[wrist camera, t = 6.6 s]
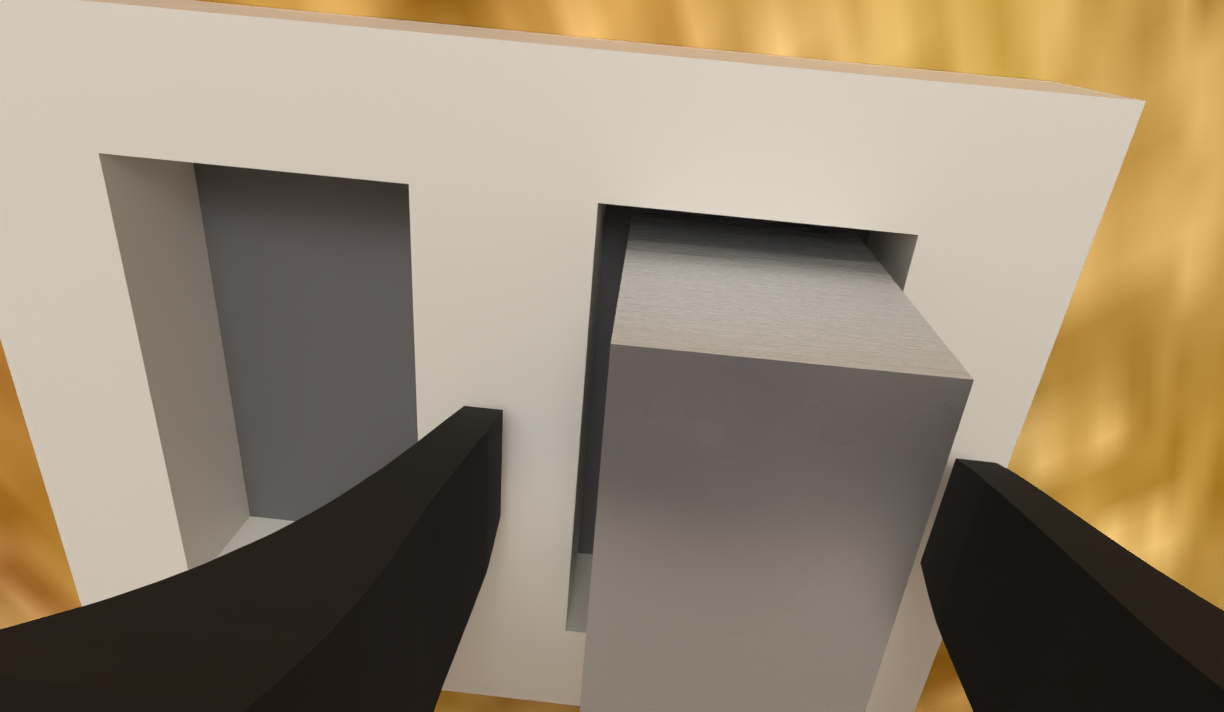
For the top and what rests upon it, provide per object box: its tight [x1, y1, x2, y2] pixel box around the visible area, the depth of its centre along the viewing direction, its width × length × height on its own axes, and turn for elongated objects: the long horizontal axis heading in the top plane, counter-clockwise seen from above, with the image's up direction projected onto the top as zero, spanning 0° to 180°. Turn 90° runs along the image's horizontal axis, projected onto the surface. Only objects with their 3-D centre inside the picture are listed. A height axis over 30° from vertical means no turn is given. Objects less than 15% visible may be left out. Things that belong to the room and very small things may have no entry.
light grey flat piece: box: [0, 0, 1146, 712], centre depth 13 cm, size 16×12×2 cm
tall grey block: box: [580, 207, 974, 712], centre depth 11 cm, size 4×7×6 cm, turn 176°
